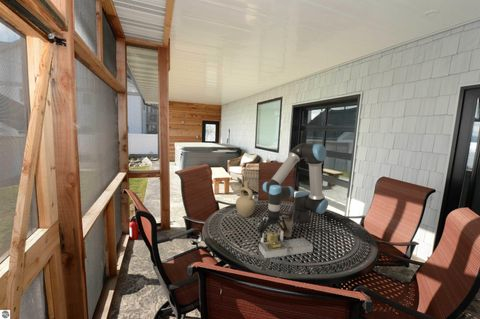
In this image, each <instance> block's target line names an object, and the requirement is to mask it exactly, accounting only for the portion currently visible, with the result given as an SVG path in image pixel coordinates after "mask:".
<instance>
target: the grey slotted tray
mask: <svg viewBox="0 0 480 319" xmlns="http://www.w3.org/2000/svg"><path fill="white" fill-rule="evenodd" d="M278 242H279V243H280V244H281V248H277V249H269V242H267V241H266V242H264V243H262V242H259V243H258V250H259V251H260V253H261V254H262V256H263V258H264V259H270V258H277V257H285V256H292V255H299V254H307V252H308V253H313V250H314V245H313V244H312V243H311V242H309V241H308V240H307V239H306V238H305V237H301V238H292V239H283V240H282V241H281V240H278Z"/></svg>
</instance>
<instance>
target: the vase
mask: <svg viewBox="0 0 480 319" xmlns="http://www.w3.org/2000/svg"><path fill="white" fill-rule="evenodd" d="M243 185H244V186H242V187H241V188H240V189H239V197H238V198H237V199H236V201H235V207H236V211H237V212H238V214H239V216H240V217H242V218H248V217H250V216H252V215H253V213H254V211H255V210H256V207H257V206H256V205H257V203H256V200H255V198H253V197H254V193H253V191H252V189H250V188H249V185H250V180H243ZM244 191H246V192H247V194H248V195H245V193H244Z"/></svg>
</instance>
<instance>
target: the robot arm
mask: <svg viewBox="0 0 480 319" xmlns="http://www.w3.org/2000/svg"><path fill="white" fill-rule="evenodd" d="M327 155H328V154H327V150H326V147H325V146H324V145H323V144H318V143H306V142H303V143H299V144H298V145H296V146H295V147H292V149H291V151H289V153H288V157H287V158H286V159H285V160H284V161H283V163H282V164H281V166H280V167H279V168H278V169H277V171H276V173H275V174H274V175H273V176H272V177H271V179H270V180H269V181H264V182H263V184H262V190H263V192H265V193H267V194H268V206H267V217H265V216H263V217H262V221H261V222H260V224H259V226H258V228H257V230H256V231H257V232H258V233H259V237H260V243H265V242H264V241H265V231H266V230H267V229H268V228H269V226H271V225H276V224H277V225H278V227H279V226H280V228H281V229H282V230H281V232H280V235H279V241H282V240H284V237H285V236H284V234H285V231H286V230H288V229H287V226H286V224H285V221H284V217H283V216H280V211H281V203H282V201H281V200H285V199H290V198H292V197H293V196H294V203H293V204H294V206H293V211H292V212H293V221H294V222H296V223H300V224H301V223H302V224H303V223H304V224H305V223H309V222H310V221H311V215H310V212H312V213H313V212H314V213H316V214H319V215H321V214H325V212H326V211H327V210H328V205H329V200H327V199H325V194H323V179H322V178H323V176H322V175H323V174H322V173H323V172H322V164H324V161H325V160H326V158H327ZM303 159H305V160H306V164H308V172H309V187H310V189H309V191H310V192H309V191H297V192H295V190H294V188H293V187H292V186H288V185H287V186H284V185H282V183H283V182H284V181H285V179H287V178H286V177H287V176H289V173H290V172H291V171H292V170H293V168H294V167H295V165H296V164H297V163H298V162H300V161H301V160H303ZM309 211H310V212H309ZM279 216H280V217H279ZM279 219H281V221H282V224H283V226H284V228H283V227H282V225H281V224H280V223H279Z"/></svg>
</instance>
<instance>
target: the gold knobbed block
mask: <svg viewBox="0 0 480 319" xmlns="http://www.w3.org/2000/svg"><path fill="white" fill-rule="evenodd" d="M266 236H267V237H266V242H269V241H275V240H277V241H279V239H278V238H279V235H278V233H276V232H275V231H269V232H267V235H266Z"/></svg>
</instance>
